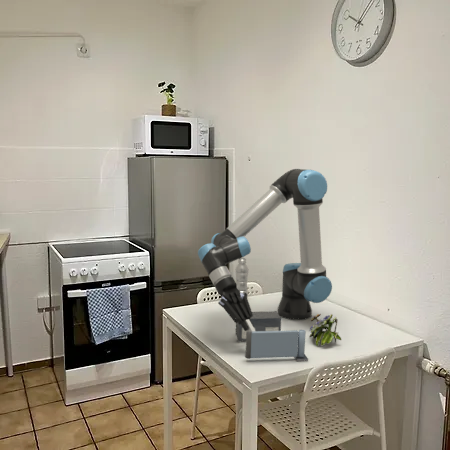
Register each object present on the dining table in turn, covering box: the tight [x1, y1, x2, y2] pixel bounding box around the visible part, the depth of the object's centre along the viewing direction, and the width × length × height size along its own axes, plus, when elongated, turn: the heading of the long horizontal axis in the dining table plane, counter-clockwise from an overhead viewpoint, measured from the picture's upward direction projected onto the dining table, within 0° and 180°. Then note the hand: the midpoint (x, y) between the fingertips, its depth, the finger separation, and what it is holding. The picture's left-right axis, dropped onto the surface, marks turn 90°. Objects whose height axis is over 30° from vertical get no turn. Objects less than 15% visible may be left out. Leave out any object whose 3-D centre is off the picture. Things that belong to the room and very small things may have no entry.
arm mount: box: [293, 353, 309, 362], centre depth 171 cm, size 4×4×1 cm
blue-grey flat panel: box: [245, 329, 307, 360], centre depth 169 cm, size 21×2×9 cm, turn 98°
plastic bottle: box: [234, 257, 249, 298], centre depth 238 cm, size 6×7×20 cm
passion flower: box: [308, 313, 342, 347], centre depth 187 cm, size 13×12×14 cm
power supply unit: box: [235, 310, 282, 343], centre depth 189 cm, size 16×9×9 cm, turn 98°
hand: (254, 337), depth 173 cm, fingers closed
